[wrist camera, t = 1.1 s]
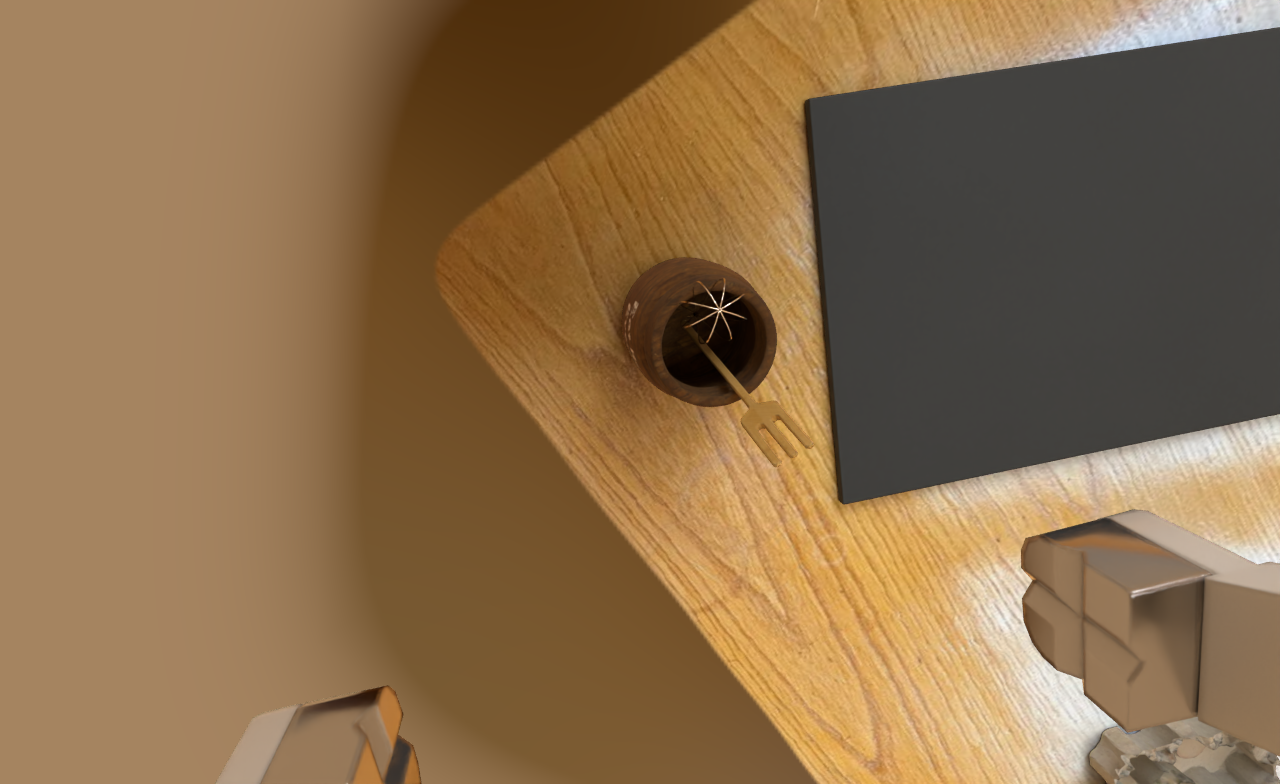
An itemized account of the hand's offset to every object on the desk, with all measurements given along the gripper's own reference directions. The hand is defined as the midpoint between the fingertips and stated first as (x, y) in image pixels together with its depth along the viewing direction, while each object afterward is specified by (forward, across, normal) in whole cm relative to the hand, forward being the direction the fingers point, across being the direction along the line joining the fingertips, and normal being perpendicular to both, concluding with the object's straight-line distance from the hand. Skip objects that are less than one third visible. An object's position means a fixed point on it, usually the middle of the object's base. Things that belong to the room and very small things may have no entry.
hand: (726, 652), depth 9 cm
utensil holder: (+26, -4, 0) cm, 26 cm away
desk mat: (+26, -29, +2) cm, 39 cm away
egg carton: (+26, -31, +34) cm, 53 cm away
